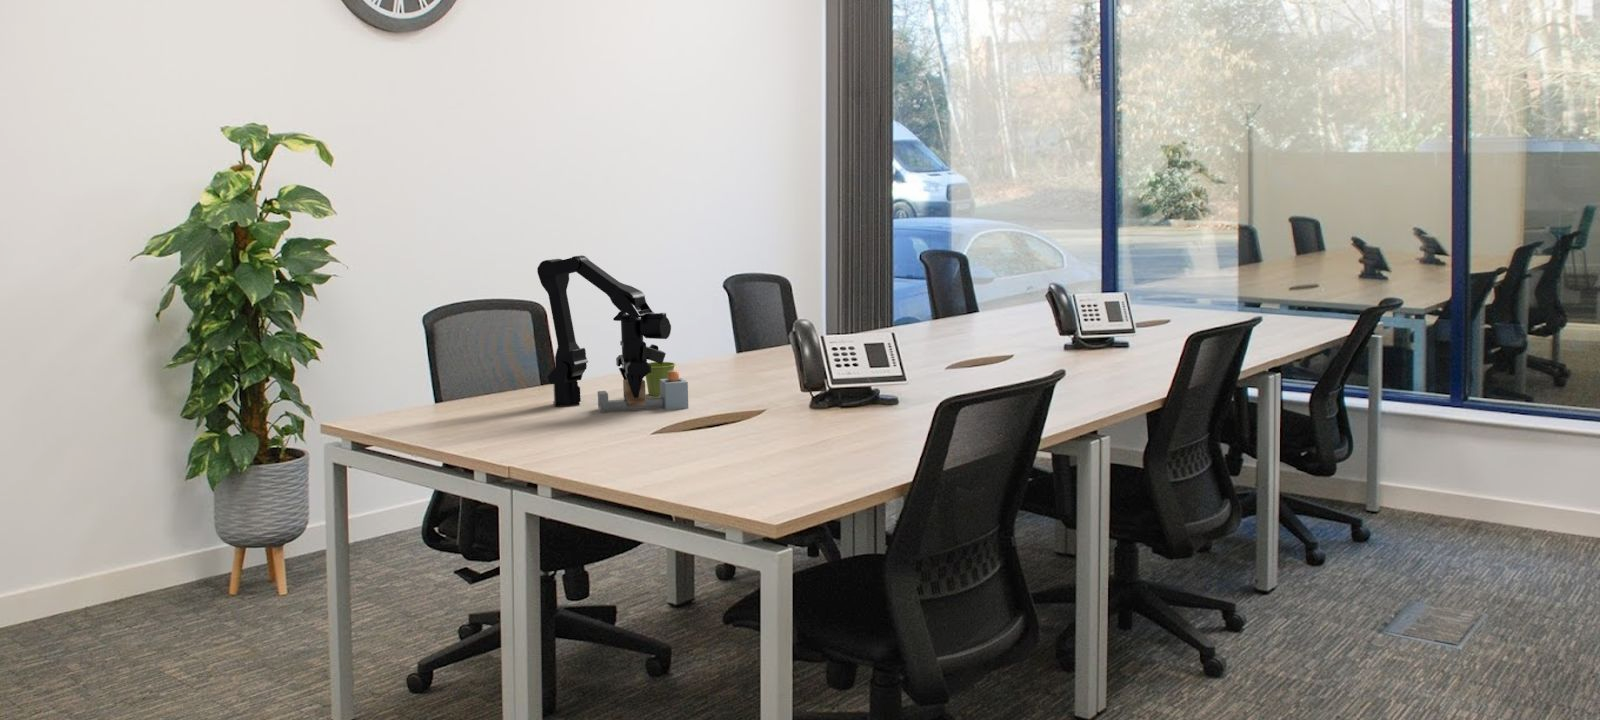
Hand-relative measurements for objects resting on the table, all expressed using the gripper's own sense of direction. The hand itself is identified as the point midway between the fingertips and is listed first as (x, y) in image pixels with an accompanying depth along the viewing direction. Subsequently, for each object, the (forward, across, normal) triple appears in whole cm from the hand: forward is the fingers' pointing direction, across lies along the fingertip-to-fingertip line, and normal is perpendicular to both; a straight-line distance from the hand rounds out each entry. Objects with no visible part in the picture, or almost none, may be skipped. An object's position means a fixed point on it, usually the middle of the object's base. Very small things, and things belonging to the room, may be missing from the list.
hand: (634, 396), depth 364 cm
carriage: (+2, 0, 0) cm, 2 cm away
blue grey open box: (+4, 0, -11) cm, 11 cm away
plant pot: (+4, +21, -11) cm, 24 cm away
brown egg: (-2, 0, -11) cm, 11 cm away
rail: (+4, 0, -1) cm, 4 cm away
